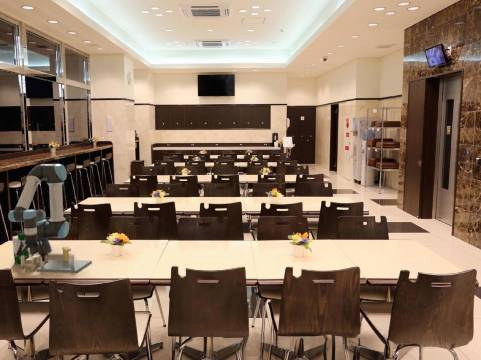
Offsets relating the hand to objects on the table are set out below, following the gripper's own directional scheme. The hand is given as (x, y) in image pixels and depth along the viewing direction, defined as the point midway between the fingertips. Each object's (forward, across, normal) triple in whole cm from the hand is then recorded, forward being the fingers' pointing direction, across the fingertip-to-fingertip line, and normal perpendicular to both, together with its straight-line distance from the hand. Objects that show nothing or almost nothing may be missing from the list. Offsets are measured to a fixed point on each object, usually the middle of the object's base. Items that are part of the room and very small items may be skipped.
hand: (32, 265), depth 296 cm
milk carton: (+2, -15, +11) cm, 19 cm away
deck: (+2, +20, +5) cm, 20 cm away
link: (+2, 0, +4) cm, 4 cm away
